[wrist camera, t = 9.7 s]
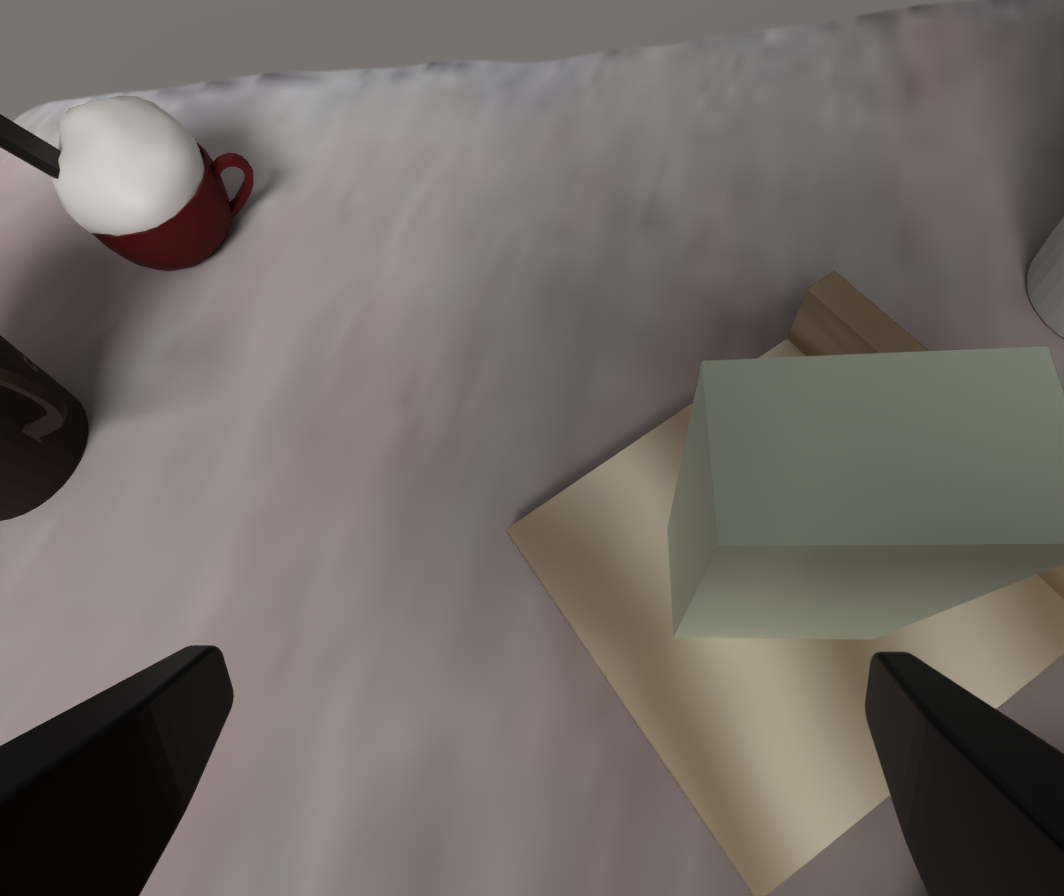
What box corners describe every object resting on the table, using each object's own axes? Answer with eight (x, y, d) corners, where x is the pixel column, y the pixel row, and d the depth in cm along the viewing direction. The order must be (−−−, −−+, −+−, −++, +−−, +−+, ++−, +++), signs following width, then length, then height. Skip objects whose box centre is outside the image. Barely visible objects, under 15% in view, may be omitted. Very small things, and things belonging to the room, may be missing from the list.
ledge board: (752, 893, 19) (782, 931, 15) (510, 537, 24) (489, 501, 20) (1101, 610, 21) (1203, 584, 17) (804, 336, 26) (834, 270, 22)
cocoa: (284, 194, 33) (138, -77, 23) (252, 292, 31) (68, 37, 20) (112, 196, 34) (-106, -64, 24) (66, 290, 32) (-203, 47, 21)
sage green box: (871, 639, 20) (1114, 543, 10) (673, 637, 21) (718, 546, 11) (851, 524, 22) (1046, 340, 12) (667, 525, 22) (701, 356, 12)
